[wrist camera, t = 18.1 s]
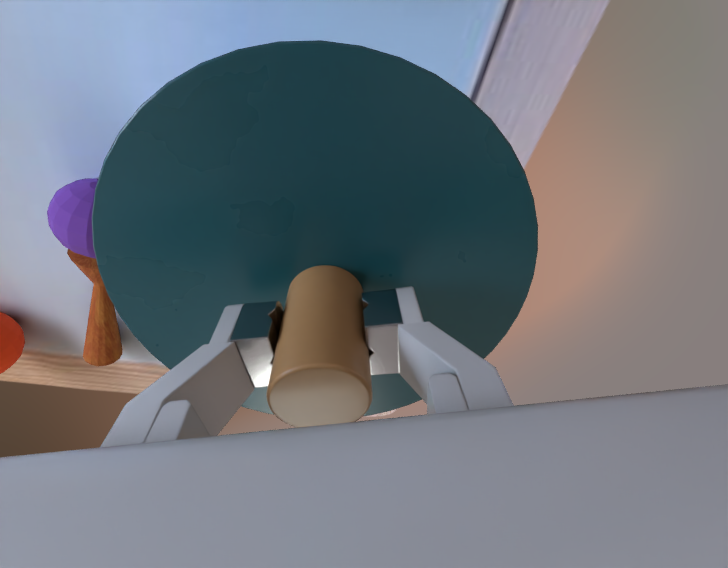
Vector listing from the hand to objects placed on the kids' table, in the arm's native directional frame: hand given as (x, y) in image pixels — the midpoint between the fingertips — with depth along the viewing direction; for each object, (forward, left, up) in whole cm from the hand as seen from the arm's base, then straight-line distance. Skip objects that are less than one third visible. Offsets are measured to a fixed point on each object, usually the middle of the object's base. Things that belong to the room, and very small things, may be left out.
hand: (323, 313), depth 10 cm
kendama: (+9, -22, -21) cm, 32 cm away
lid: (0, 0, -2) cm, 2 cm away
